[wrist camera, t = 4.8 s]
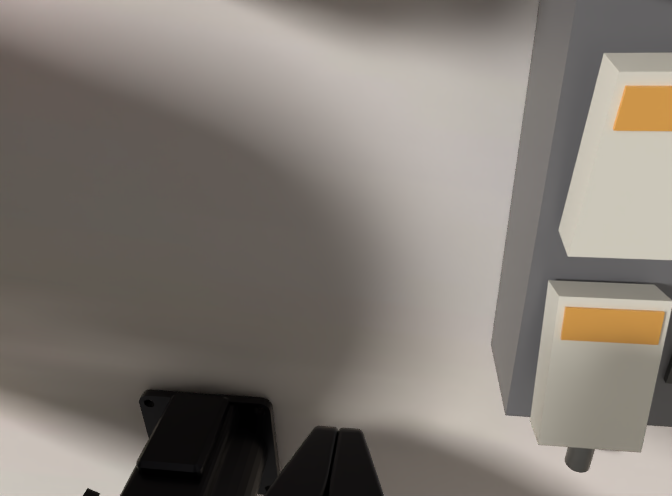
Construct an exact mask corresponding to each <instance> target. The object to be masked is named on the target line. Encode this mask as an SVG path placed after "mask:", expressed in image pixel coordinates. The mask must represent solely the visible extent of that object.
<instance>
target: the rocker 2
mask: <svg viewBox="0 0 672 496" xmlns="http://www.w3.org/2000/svg"><path fill="white" fill-rule="evenodd" d="M671 309H672V300H671V299H670V298H669V297H668V296H667V295H665V294H664V293H663V292H662V291H661V290H660V289H659V288H658V287H657V286H655V285H653V284H628V283H604V282H579V281H555V280H548V287H547V295H546V302H545V310H544V318H543V325H542V333H541V341H540V348H539V356H538V363H537V371H536V379H535V386H534V394H533V401H532V409H531V417H530V422H531V425H532V428H533V431H534V434H535V437H536V440H537V442H538V445H548V446H562V447H575V448H588V449H602V450H615V451H628V452H641V450H642V445H643V440H644V436H645V431H646V426H647V422H648V417H649V412H650V408H651V403H652V398H653V393H654V389H655V384H656V379H657V375H658V370H659V365H660V361H661V356H662V351H663V347H664V342H665V337H666V333H667V328H668V323H669V319H670V314H671Z"/></svg>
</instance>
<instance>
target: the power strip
mask: <svg viewBox="0 0 672 496" xmlns="http://www.w3.org/2000/svg"><path fill="white" fill-rule="evenodd" d="M604 53H672V0H540V2H539V9H538V16H537V23H536V30H535V37H534V44H533V51H532V58H531V66H530V73H529V80H528V87H527V94H526V101H525V108H524V115H523V122H522V129H521V136H520V143H519V150H518V157H517V164H516V172H515V179H514V186H513V193H512V200H511V207H510V214H509V221H508V228H507V235H506V242H505V249H504V256H503V263H502V271H501V278H500V285H499V292H498V299H497V306H496V313H495V320H494V327H493V334H492V341H491V347H492V352H493V357H494V361H495V366H496V371H497V376H498V381H499V386H500V391H501V396H502V401H503V406H504V410H505V415H509V416H524V417H531V409H532V401H533V394H534V386H535V379H536V371H537V363H538V356H539V348H540V341H541V333H542V325H543V318H544V310H545V302H546V295H547V287H548V280H555V281H579V282H604V283H628V284H653V285H655V286H657V287H658V288H659V289H660V290H661V291H662V292H663V293H664V294H665V295H667V296H668V297H669V298H670V299H671V300H672V260H651V259H623V258H595V257H568V256H567V253H566V250H565V247H564V245H563V242H562V239H561V236H560V233H559V226H560V222H561V218H562V214H563V210H564V206H565V203H566V199H567V195H568V191H569V187H570V183H571V179H572V175H573V171H574V167H575V163H576V160H577V156H578V152H579V148H580V144H581V140H582V136H583V132H584V128H585V124H586V120H587V117H588V113H589V109H590V105H591V101H592V97H593V93H594V89H595V85H596V81H597V77H598V73H599V70H600V66H601V62H602V58H603V54H604ZM647 425H653V426H668V427H672V309H671V314H670V319H669V323H668V328H667V333H666V337H665V342H664V347H663V351H662V356H661V361H660V365H659V370H658V375H657V379H656V384H655V389H654V393H653V398H652V403H651V408H650V412H649V417H648V422H647ZM594 451H595V449H588V448H575V447H568V449H567V452H566V456H565V463H566V465H567V466H568V467H569V468H570V469H572V470H573V471H576V472H586V471H588V470H589V468H590V464H591V461H592V457H593V454H594Z"/></svg>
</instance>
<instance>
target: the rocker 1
mask: <svg viewBox="0 0 672 496" xmlns="http://www.w3.org/2000/svg"><path fill="white" fill-rule="evenodd" d="M559 233H560V236H561V239H562V242H563V245H564V247H565V250H566V253H567V256H568V257H595V258H623V259H651V260H672V53H604V54H603V58H602V62H601V66H600V70H599V73H598V77H597V81H596V85H595V89H594V93H593V97H592V101H591V105H590V109H589V113H588V117H587V120H586V124H585V128H584V132H583V136H582V140H581V144H580V148H579V152H578V156H577V160H576V163H575V167H574V171H573V175H572V179H571V183H570V187H569V191H568V195H567V199H566V203H565V206H564V210H563V214H562V218H561V222H560V226H559Z"/></svg>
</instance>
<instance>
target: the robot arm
mask: <svg viewBox="0 0 672 496" xmlns="http://www.w3.org/2000/svg"><path fill="white" fill-rule="evenodd" d="M139 403H140V407H141V411H142V414H143V418H144V422H145V426H146V429H147V433H148V437H149V440H148V441H147V443H146V445H145V447H144V449H143V451H142V453H141V454H140V456H139V458H138V460H137V463H136V466H135V468H134V470H133V472H132V474H131V476H130V478H129V479H128V481H127V483H126V485H125V487H124V489H123V491H122V493H121V494H120V496H257V494H264V496H384V494H383V491H382V488H381V485H380V482H379V479H378V476H377V473H376V470H375V467H374V464H373V461H372V458H371V455H370V452H369V449H368V446H367V443H366V440H365V437H364V434H363V432H362V430H360V429H354V428H341V429H340V430H338V429H337V428H336V427H328V426H317V427H315V428H314V429H313V430H312V431H311V433H310V434H309V436H308V437H307V438H306V440H305V441H304V442H303V444H302V445H301V446H300V448H299V449H298V450H297V452H296V453H295V454H294V456H293V457H292V458H291V460H290V461H289V462H288V464H287V465H286V466H285V468H284V469H283V470H282V472H281V473H280V472H279V462H278V453H277V444H276V435H275V426H274V417H273V408H272V404H271V402H270V401H269V400H267V399H265V398H260V397H246V396H232V395H217V394H203V393H188V392H174V391H159V390H147V391H145V392H144V393H143V395H142V396H141V398H140V400H139ZM259 407H260V408H263V409H260V408H259ZM99 495H100V493H98V492H95V491H93V490H91V489H89V488H87V490H86V492H85V493H84V495H83V496H99Z"/></svg>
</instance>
